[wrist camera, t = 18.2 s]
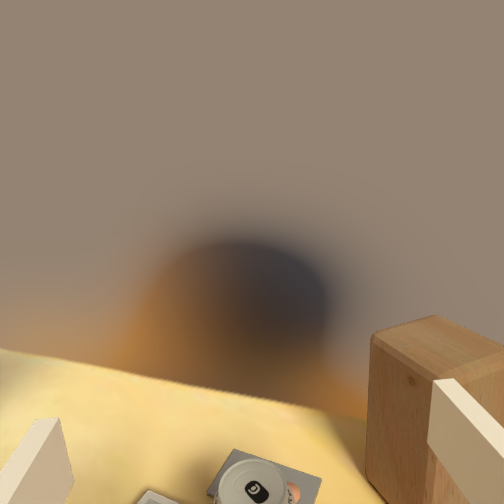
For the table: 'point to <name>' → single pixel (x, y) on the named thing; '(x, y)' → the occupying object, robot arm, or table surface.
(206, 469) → the table surface
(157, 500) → the socket plate
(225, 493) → the energy drink can
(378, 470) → the wooden block
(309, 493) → the grey button plate
